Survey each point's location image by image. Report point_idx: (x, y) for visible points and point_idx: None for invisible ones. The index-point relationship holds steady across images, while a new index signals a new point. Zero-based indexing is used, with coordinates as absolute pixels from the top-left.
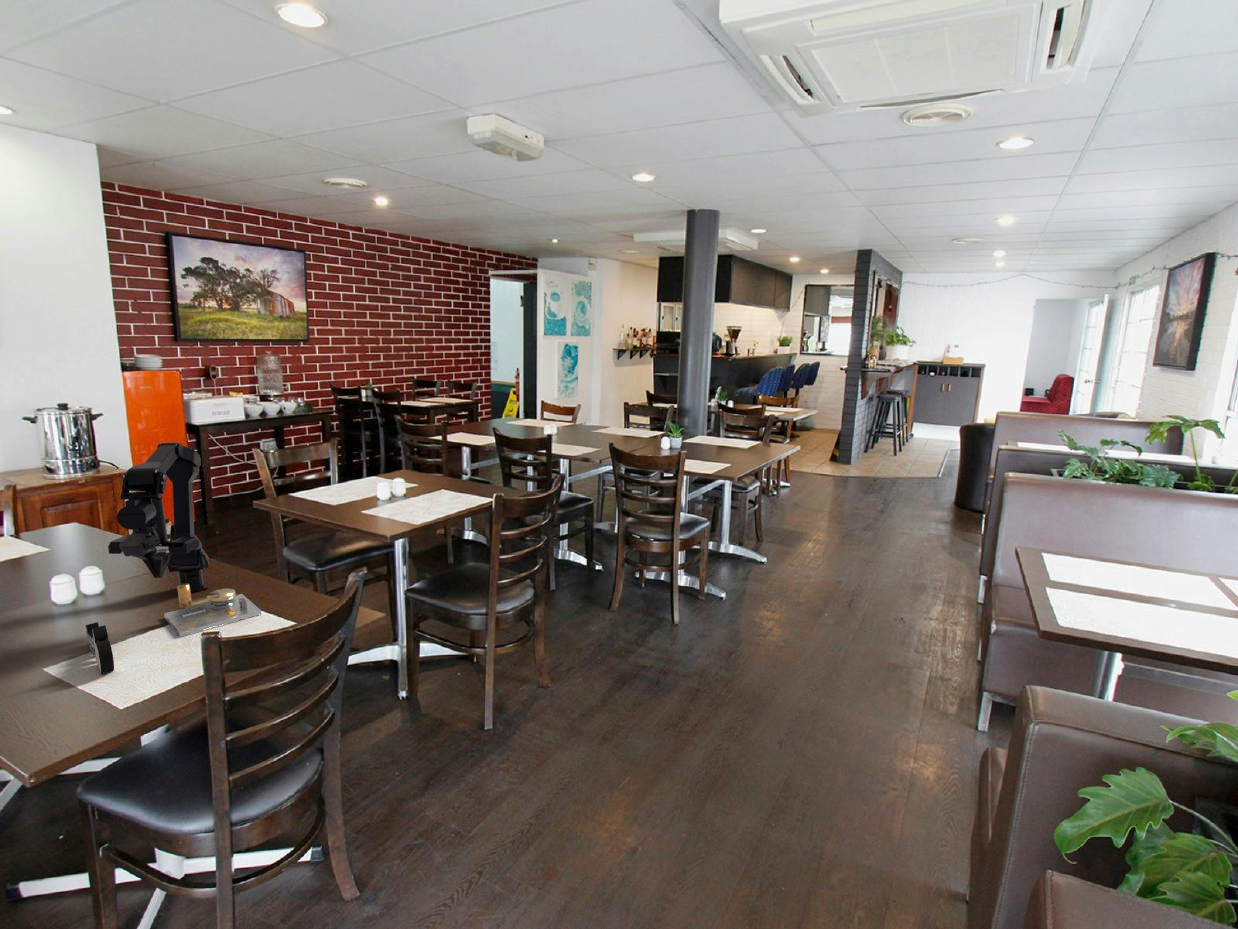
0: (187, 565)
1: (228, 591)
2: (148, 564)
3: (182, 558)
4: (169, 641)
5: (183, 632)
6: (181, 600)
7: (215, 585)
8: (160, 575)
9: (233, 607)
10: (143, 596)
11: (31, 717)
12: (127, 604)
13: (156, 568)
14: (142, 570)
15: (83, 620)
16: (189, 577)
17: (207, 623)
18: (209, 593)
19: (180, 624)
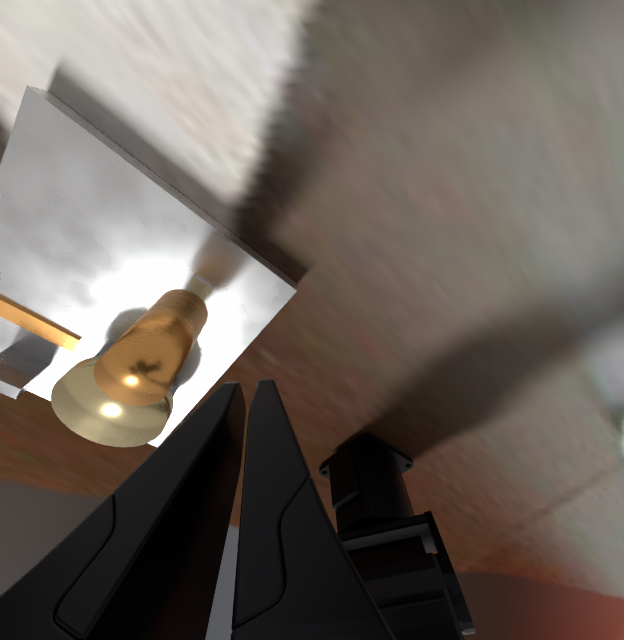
0: (363, 550)
1: (97, 427)
2: (279, 522)
3: (377, 591)
4: (52, 30)
5: (26, 104)
6: (160, 306)
7: (315, 484)
8: (206, 403)
9: (73, 362)
10: (480, 414)
11: None
12: (501, 365)
13: (190, 466)
14: (562, 522)
15: (604, 232)
16: (353, 495)
17: (8, 213)
18: (158, 405)
19: (123, 189)
